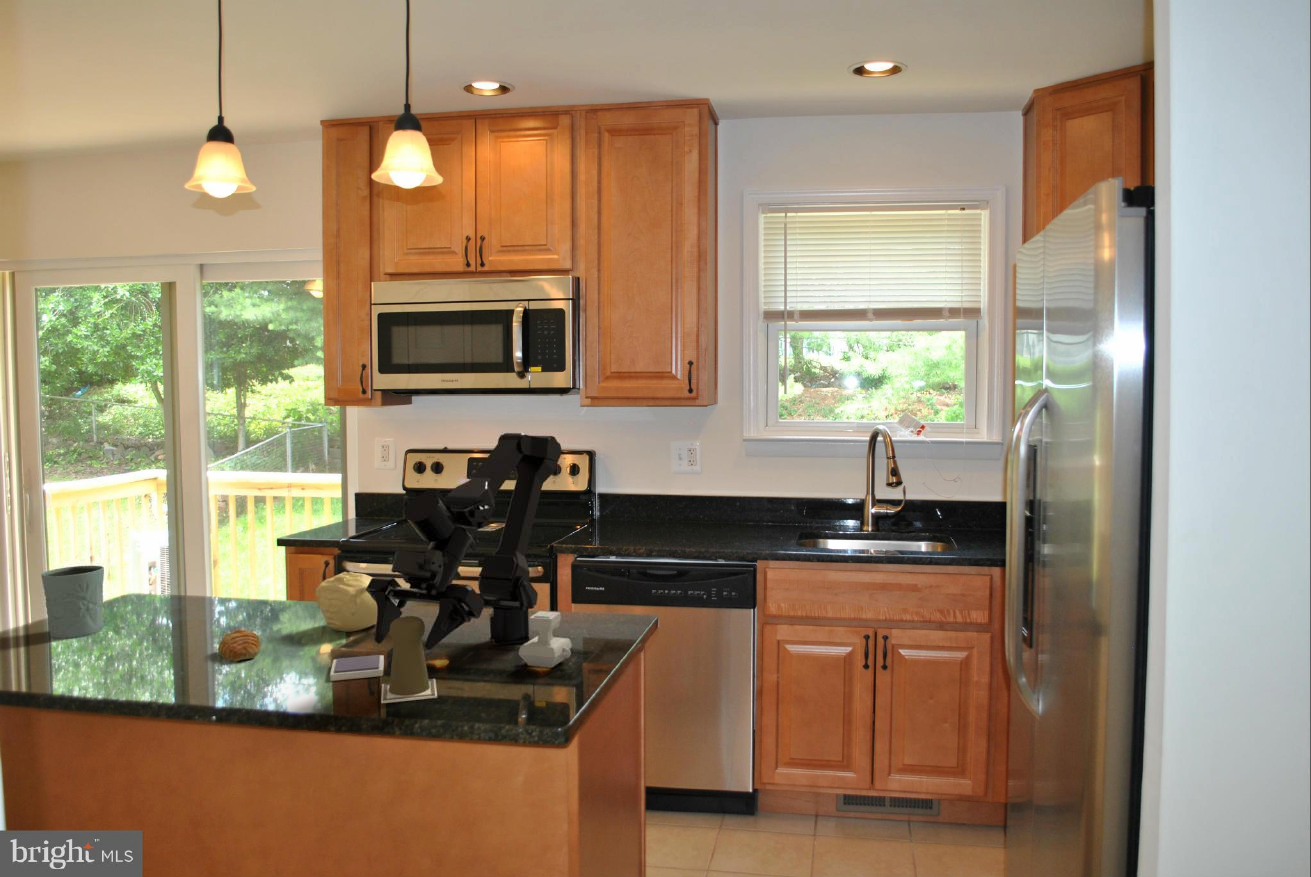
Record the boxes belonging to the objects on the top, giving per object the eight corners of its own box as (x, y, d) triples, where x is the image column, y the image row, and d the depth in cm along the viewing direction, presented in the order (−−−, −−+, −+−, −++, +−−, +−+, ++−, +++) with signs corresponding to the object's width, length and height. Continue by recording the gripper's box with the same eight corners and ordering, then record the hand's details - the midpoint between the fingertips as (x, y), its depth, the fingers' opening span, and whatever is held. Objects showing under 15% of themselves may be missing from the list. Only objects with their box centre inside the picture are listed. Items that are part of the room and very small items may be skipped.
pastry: (266, 659, 160) (265, 637, 160) (224, 667, 157) (222, 644, 157) (257, 646, 168) (256, 625, 168) (216, 653, 165) (215, 631, 164)
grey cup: (48, 643, 171) (44, 578, 171) (42, 631, 179) (38, 569, 178) (111, 632, 178) (108, 570, 177) (102, 621, 186) (99, 562, 185)
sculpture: (307, 630, 177) (305, 574, 176) (358, 616, 187) (356, 563, 187) (348, 639, 171) (346, 581, 170) (398, 623, 181) (396, 568, 181)
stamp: (512, 668, 153) (511, 617, 153) (530, 656, 159) (529, 607, 159) (562, 673, 150) (561, 621, 150) (579, 660, 157) (577, 611, 156)
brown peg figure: (427, 694, 140) (425, 622, 139) (386, 696, 139) (383, 624, 138) (431, 680, 146) (429, 611, 145) (391, 682, 145) (389, 613, 144)
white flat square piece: (435, 680, 147) (435, 678, 147) (437, 697, 140) (436, 695, 140) (382, 685, 145) (382, 683, 145) (381, 703, 138) (381, 700, 138)
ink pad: (383, 661, 158) (383, 653, 158) (382, 675, 150) (382, 667, 150) (333, 665, 156) (333, 658, 156) (330, 680, 148) (330, 672, 148)
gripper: (371, 526, 148) (324, 612, 139) (470, 532, 141) (428, 623, 131) (404, 565, 156) (362, 649, 146) (500, 573, 148) (462, 662, 139)
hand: (401, 645), depth 141 cm, fingers open, 9 cm apart
